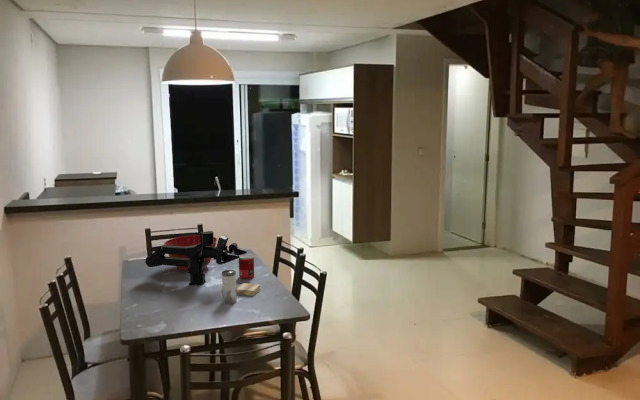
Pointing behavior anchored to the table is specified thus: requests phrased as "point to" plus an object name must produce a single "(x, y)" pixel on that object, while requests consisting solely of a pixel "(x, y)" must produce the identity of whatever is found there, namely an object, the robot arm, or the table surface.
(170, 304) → the table surface
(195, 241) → the mixing bowl
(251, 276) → the canned food
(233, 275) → the canister
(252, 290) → the oak board
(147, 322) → the table surface
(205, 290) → the table surface
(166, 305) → the table surface
